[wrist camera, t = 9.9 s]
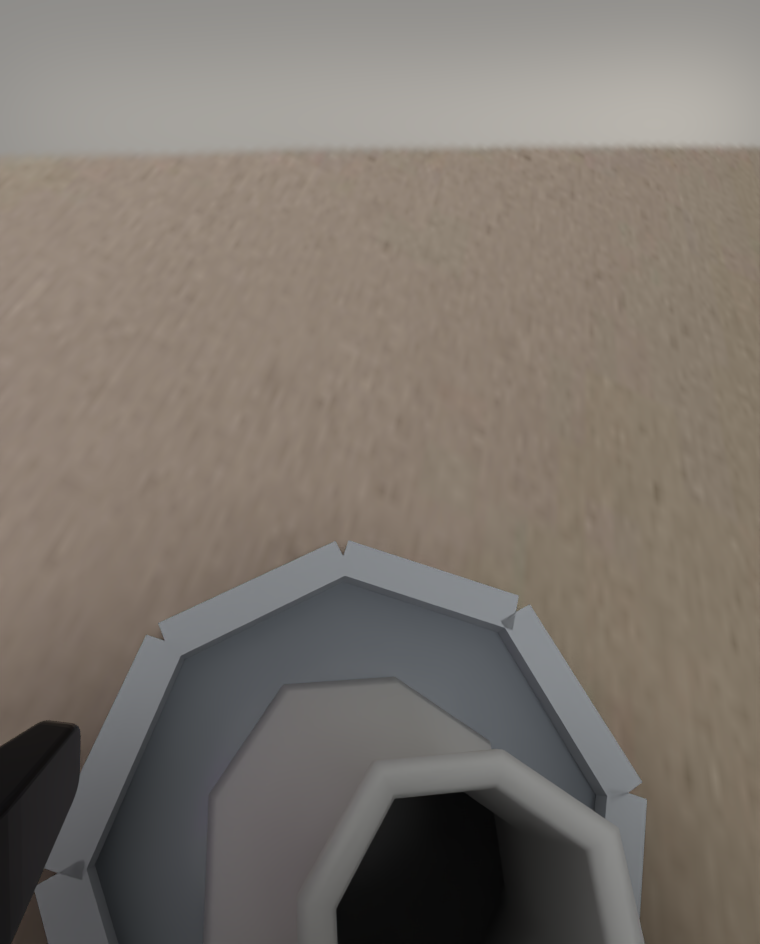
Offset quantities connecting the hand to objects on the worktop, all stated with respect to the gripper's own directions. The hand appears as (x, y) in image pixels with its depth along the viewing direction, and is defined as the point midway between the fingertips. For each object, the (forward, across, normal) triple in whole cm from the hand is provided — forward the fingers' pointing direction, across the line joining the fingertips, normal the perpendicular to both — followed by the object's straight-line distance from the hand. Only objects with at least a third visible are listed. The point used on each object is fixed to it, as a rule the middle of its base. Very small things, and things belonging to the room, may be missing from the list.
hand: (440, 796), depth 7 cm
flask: (+5, 0, +6) cm, 8 cm away
